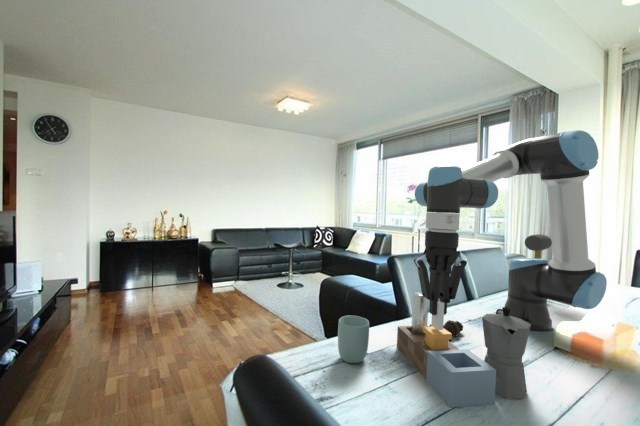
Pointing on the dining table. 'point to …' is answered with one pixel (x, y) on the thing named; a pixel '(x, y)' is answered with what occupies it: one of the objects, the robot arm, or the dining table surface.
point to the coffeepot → (506, 352)
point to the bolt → (453, 327)
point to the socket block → (416, 348)
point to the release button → (436, 338)
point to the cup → (353, 338)
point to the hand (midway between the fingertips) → (437, 327)
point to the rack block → (461, 378)
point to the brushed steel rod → (419, 314)
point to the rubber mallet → (538, 244)
